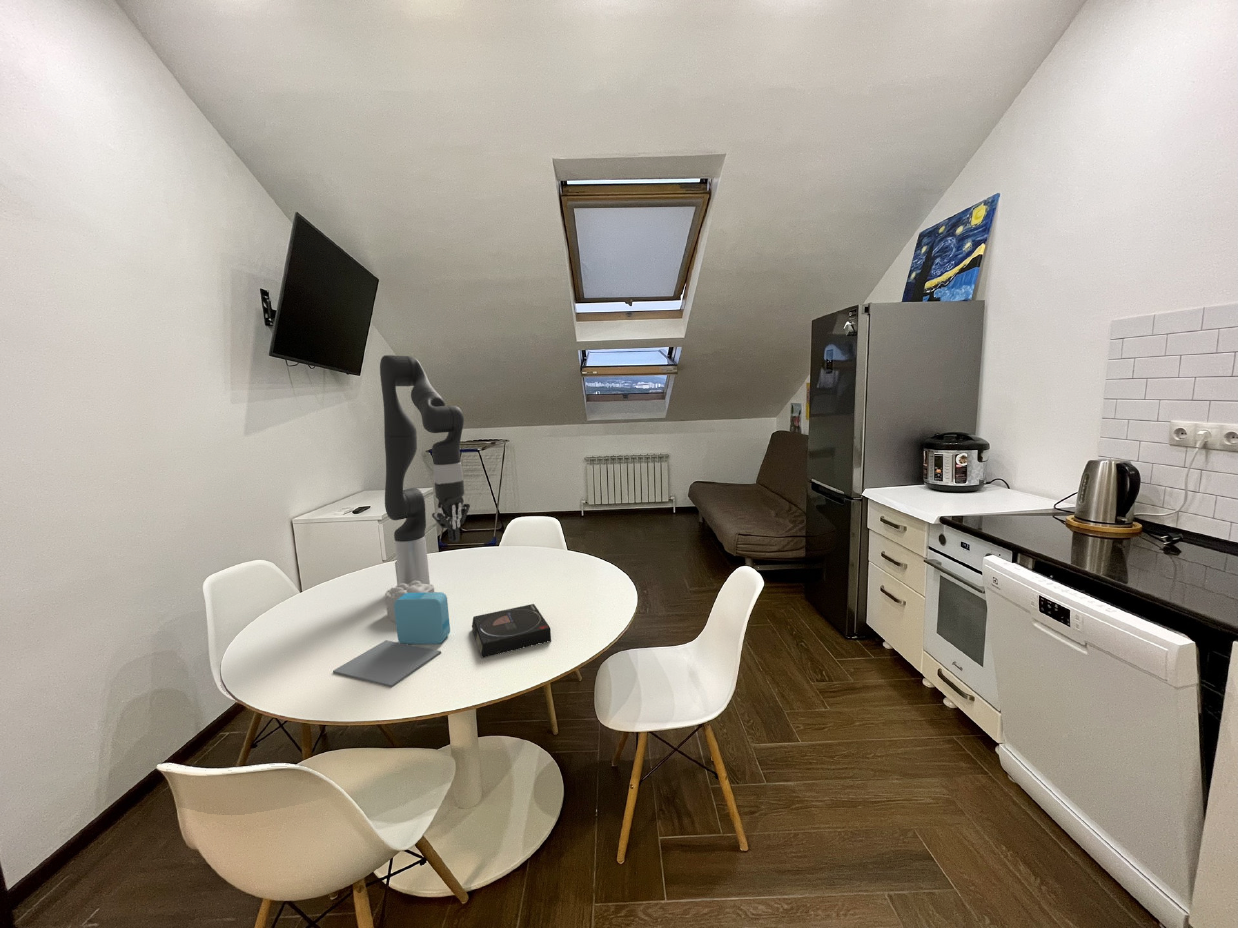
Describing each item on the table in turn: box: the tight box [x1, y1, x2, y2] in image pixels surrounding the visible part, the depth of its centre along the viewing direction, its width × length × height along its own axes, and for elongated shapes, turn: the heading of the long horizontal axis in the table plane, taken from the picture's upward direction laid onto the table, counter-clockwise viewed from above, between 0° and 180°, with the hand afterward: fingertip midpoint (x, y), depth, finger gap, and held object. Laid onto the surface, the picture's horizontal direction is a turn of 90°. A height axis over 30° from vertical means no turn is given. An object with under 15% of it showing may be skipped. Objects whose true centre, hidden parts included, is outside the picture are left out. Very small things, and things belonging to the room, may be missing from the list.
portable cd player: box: [471, 603, 552, 658], centre depth 127 cm, size 16×17×4 cm
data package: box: [394, 591, 451, 645], centre depth 126 cm, size 12×4×12 cm, turn 86°
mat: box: [332, 639, 442, 688], centre depth 116 cm, size 18×15×1 cm
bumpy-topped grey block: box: [384, 581, 435, 623], centre depth 142 cm, size 10×13×9 cm
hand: (454, 541), depth 137 cm, fingers closed
